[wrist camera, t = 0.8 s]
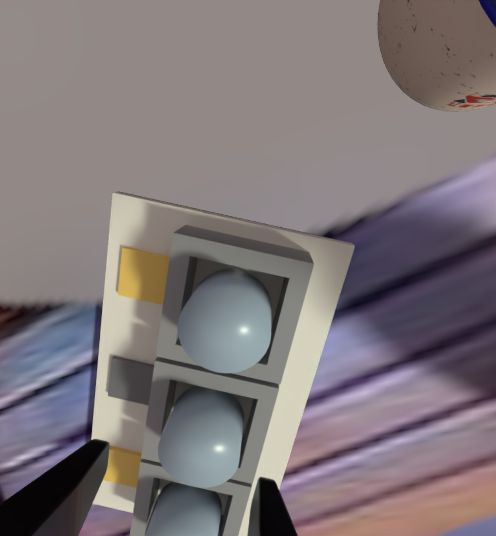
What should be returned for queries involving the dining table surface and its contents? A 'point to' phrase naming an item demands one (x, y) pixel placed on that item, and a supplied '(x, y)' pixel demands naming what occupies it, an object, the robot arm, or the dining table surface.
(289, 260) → the board
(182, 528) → the button
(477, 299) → the dining table surface
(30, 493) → the robot arm
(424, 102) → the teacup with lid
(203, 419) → the button
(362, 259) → the dining table surface
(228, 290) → the button
